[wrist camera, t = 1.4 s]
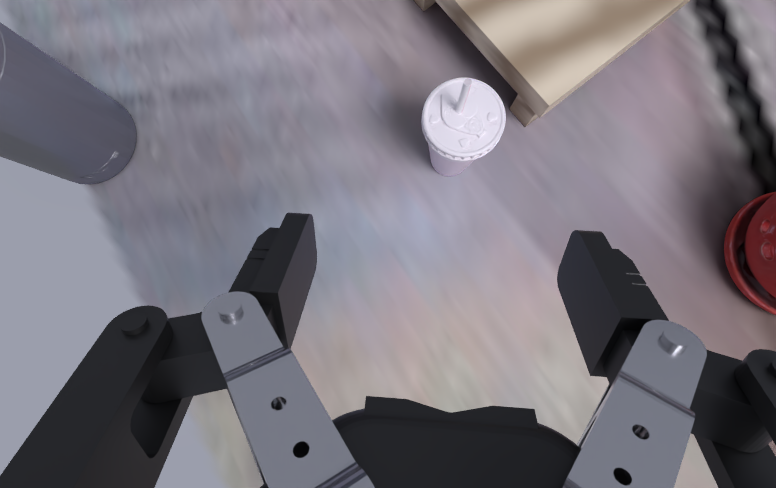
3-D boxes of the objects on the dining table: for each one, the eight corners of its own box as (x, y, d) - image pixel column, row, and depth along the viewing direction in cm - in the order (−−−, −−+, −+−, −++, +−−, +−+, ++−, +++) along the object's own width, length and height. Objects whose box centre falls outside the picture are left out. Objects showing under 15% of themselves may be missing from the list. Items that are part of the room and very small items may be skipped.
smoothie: (449, 114, 42) (474, 23, 28) (495, 158, 41) (544, 88, 27) (403, 157, 41) (404, 87, 27) (449, 203, 40) (474, 154, 27)
